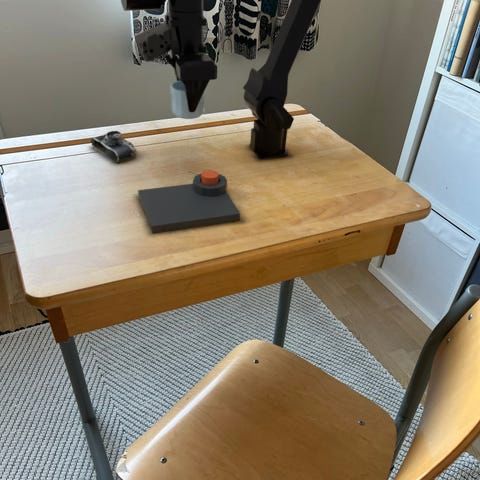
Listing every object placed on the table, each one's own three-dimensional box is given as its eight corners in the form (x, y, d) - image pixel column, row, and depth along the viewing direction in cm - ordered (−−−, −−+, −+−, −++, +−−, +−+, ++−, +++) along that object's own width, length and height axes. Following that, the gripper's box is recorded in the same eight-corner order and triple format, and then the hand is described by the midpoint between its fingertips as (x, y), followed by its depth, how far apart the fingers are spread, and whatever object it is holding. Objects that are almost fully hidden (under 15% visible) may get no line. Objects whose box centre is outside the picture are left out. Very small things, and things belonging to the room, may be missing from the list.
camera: (112, 140, 108) (110, 120, 105) (139, 158, 102) (138, 137, 100) (90, 146, 105) (87, 126, 102) (117, 165, 100) (115, 144, 97)
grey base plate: (220, 185, 96) (221, 170, 94) (242, 220, 87) (243, 204, 85) (138, 195, 91) (136, 180, 89) (152, 233, 83) (150, 217, 81)
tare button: (215, 177, 92) (215, 169, 91) (220, 184, 90) (220, 176, 89) (199, 179, 92) (199, 170, 91) (204, 186, 90) (204, 178, 88)
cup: (199, 106, 98) (199, 79, 95) (207, 118, 94) (207, 90, 91) (168, 108, 97) (167, 81, 94) (175, 121, 93) (174, 92, 89)
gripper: (128, -4, 89) (136, 90, 99) (146, 24, 76) (153, 128, 86) (191, -4, 91) (192, 87, 102) (219, 22, 78) (217, 123, 89)
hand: (187, 105), depth 95 cm, fingers closed on cup, 6 cm apart
